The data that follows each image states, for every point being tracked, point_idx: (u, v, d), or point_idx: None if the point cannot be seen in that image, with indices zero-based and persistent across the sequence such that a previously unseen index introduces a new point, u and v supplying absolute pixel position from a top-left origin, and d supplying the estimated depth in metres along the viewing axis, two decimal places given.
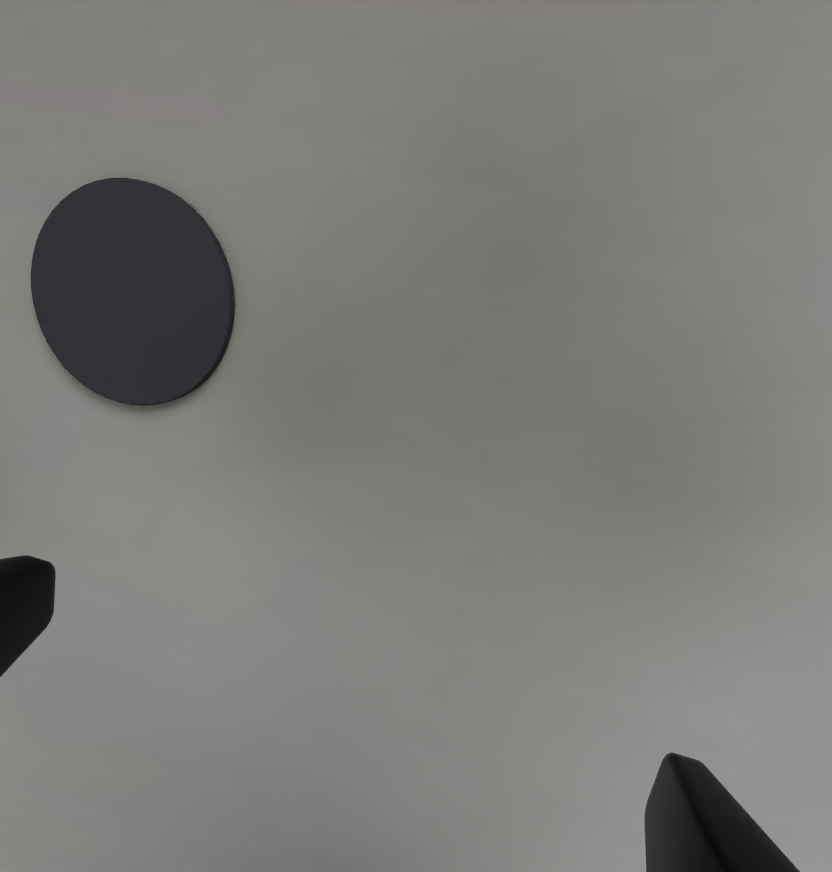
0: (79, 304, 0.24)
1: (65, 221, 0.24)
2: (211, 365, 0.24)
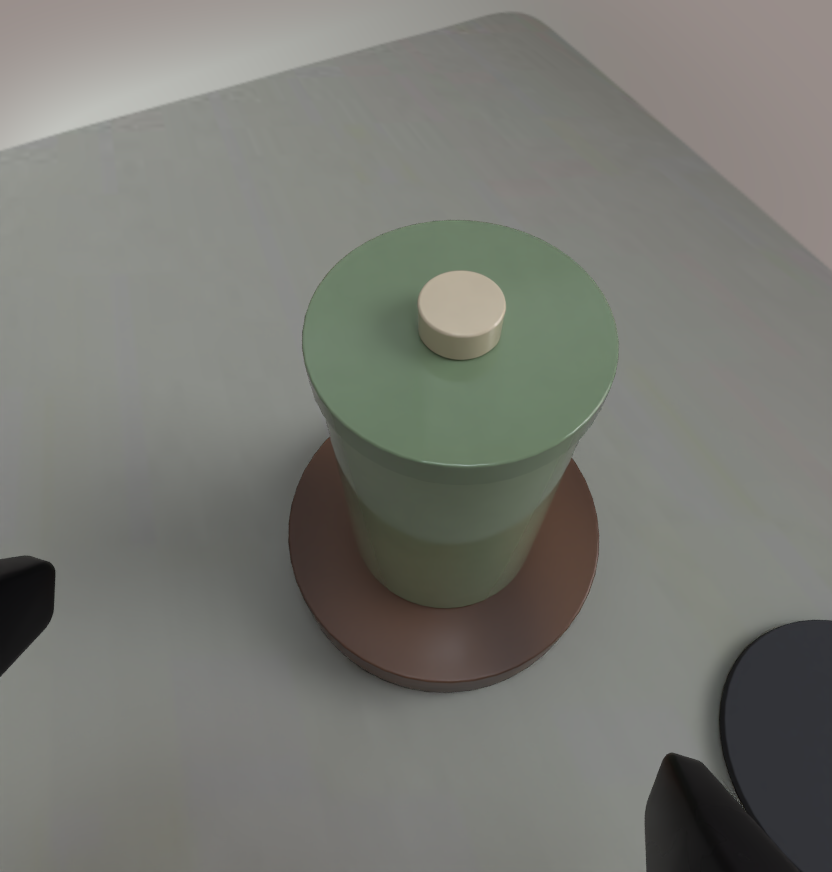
0: (799, 701, 0.21)
1: None
2: None
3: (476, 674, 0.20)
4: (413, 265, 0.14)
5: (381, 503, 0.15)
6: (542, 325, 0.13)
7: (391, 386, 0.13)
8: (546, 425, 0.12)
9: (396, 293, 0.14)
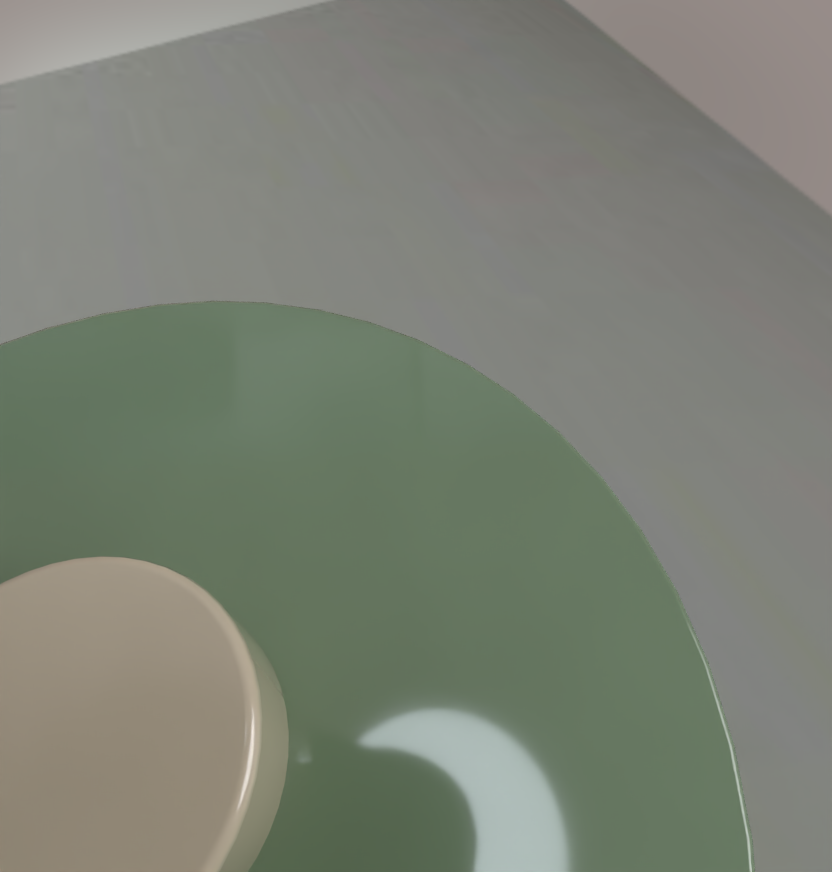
0: None
1: None
2: None
3: None
4: (43, 463, 0.04)
5: None
6: (449, 750, 0.03)
7: None
8: None
9: None
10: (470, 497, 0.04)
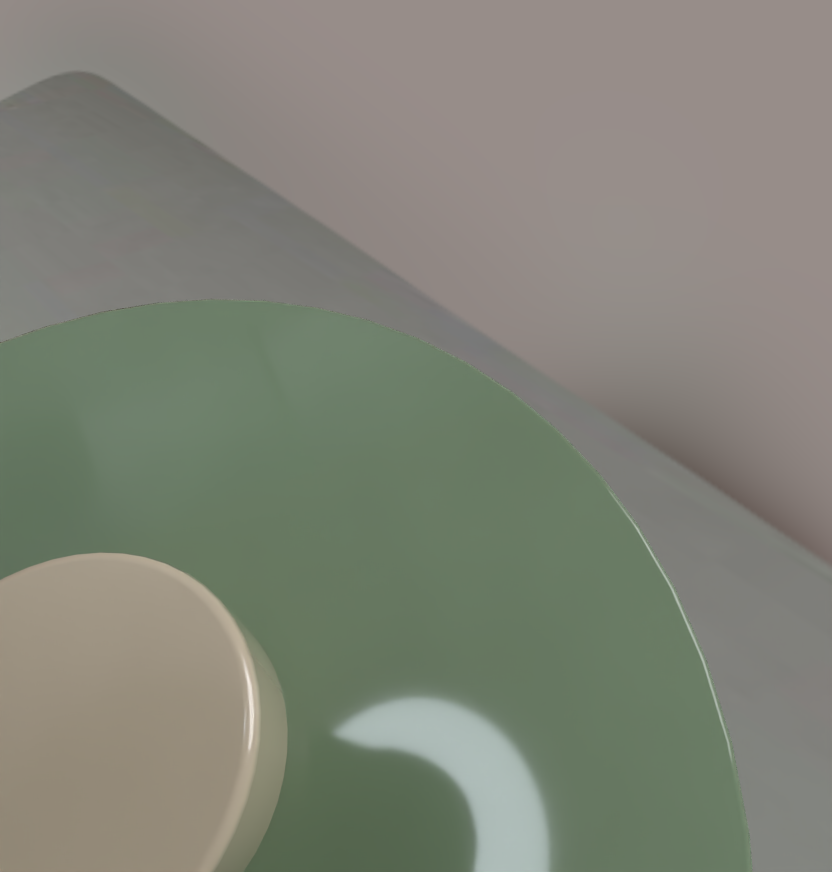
0: None
1: None
2: None
3: None
4: (42, 462, 0.04)
5: None
6: (447, 746, 0.03)
7: None
8: None
9: None
10: (469, 494, 0.04)
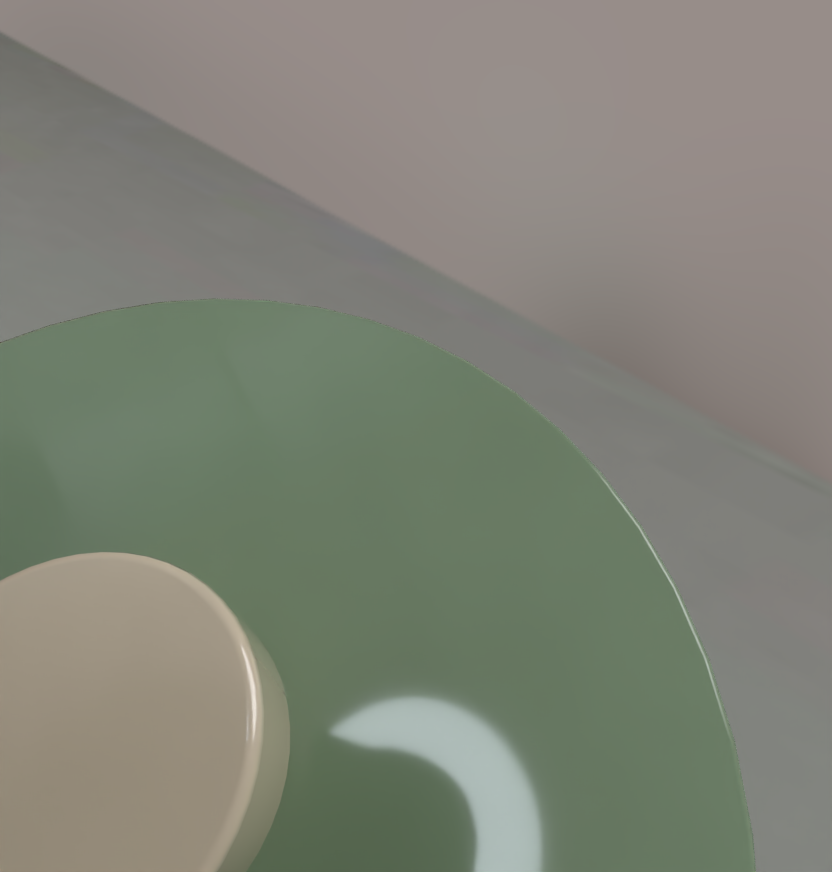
0: None
1: None
2: None
3: None
4: (46, 461, 0.04)
5: None
6: (450, 746, 0.03)
7: None
8: None
9: None
10: (471, 494, 0.04)
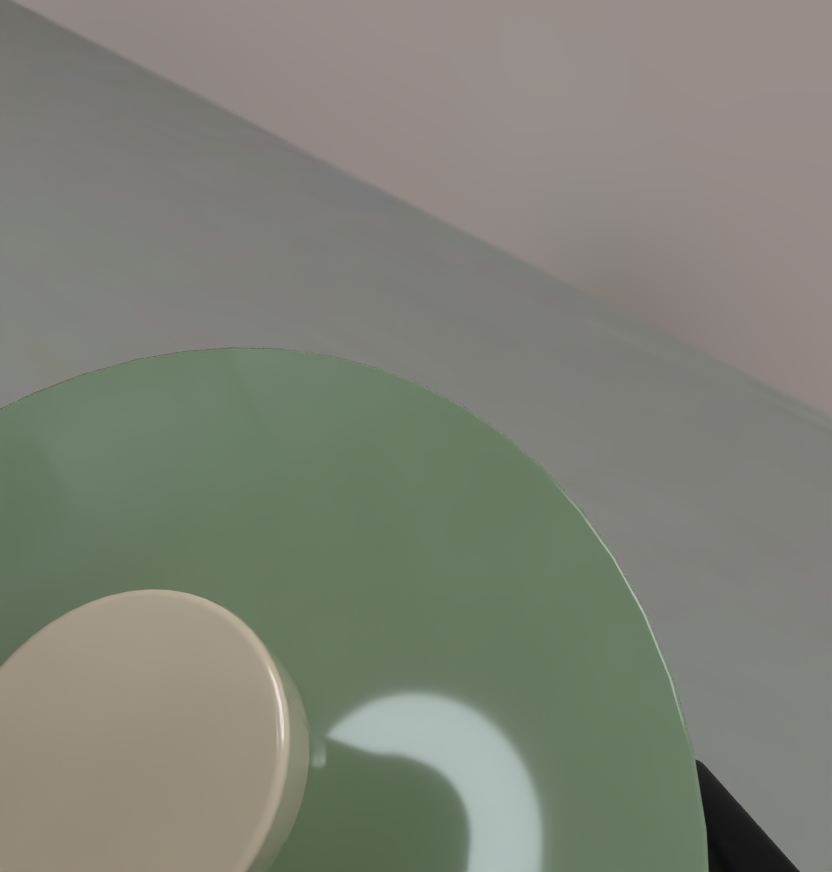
0: None
1: None
2: None
3: None
4: (88, 500, 0.05)
5: None
6: (447, 753, 0.04)
7: None
8: None
9: (2, 610, 0.04)
10: (466, 529, 0.05)
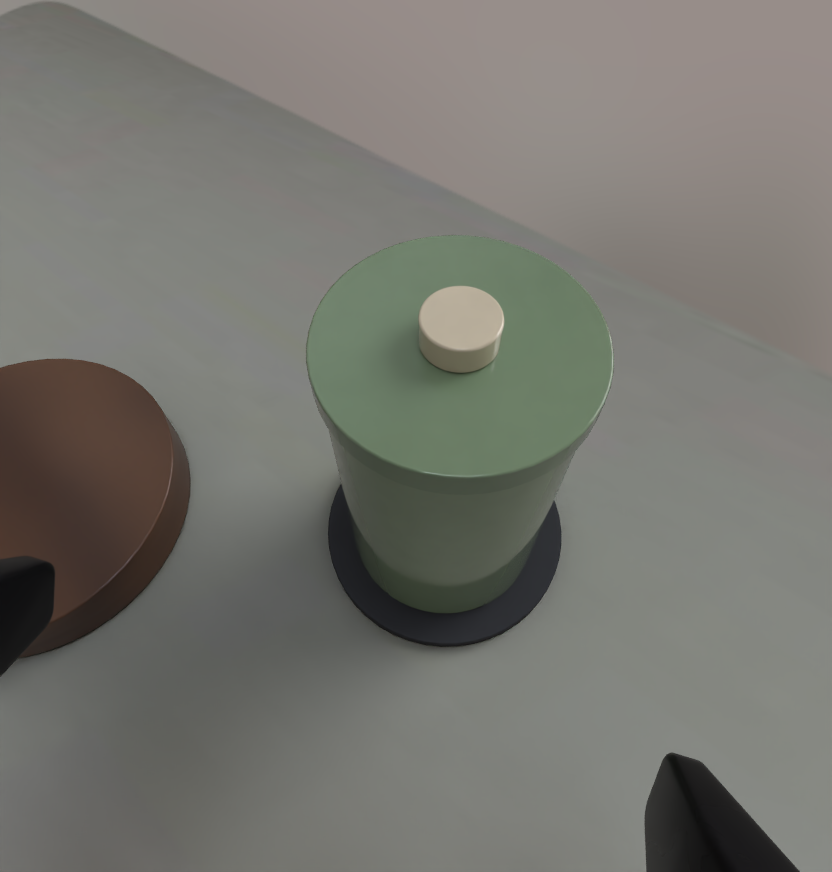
0: None
1: None
2: (496, 631, 0.21)
3: (66, 608, 0.20)
4: (414, 279, 0.15)
5: (383, 511, 0.15)
6: (539, 338, 0.14)
7: (393, 399, 0.13)
8: (543, 437, 0.12)
9: (397, 307, 0.14)
10: (541, 287, 0.15)
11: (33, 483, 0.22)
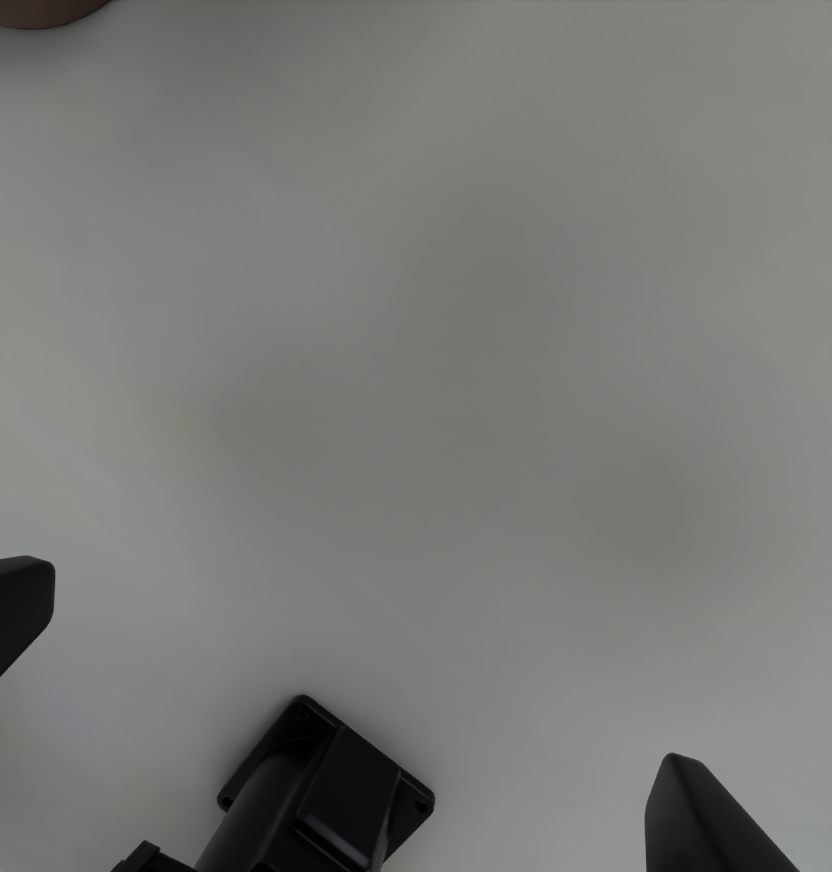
0: None
1: None
2: None
3: None
4: None
5: None
6: None
7: None
8: None
9: None
10: None
11: None
